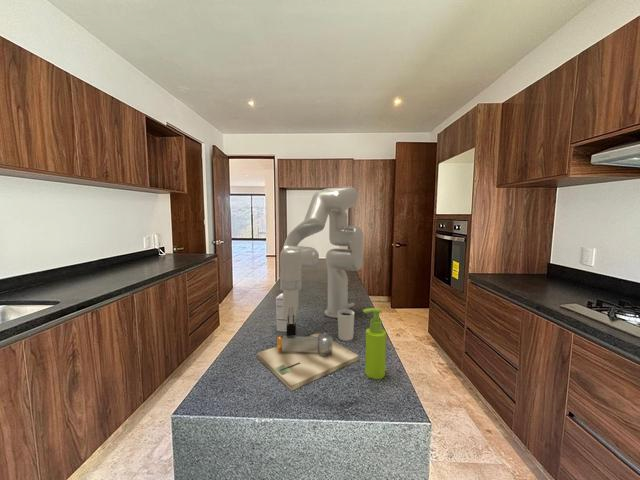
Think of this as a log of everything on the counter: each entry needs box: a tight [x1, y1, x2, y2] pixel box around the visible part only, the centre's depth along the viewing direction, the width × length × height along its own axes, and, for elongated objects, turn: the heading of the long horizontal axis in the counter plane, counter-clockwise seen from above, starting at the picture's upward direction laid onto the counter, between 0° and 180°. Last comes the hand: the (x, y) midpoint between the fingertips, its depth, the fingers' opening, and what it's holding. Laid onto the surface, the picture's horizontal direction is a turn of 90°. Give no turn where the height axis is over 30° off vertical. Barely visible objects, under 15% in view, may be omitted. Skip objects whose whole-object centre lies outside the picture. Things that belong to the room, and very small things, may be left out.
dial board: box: [256, 332, 360, 392], centre depth 90 cm, size 26×22×2 cm
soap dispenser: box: [362, 307, 387, 380], centre depth 81 cm, size 6×7×20 cm
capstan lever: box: [276, 332, 333, 356], centre depth 91 cm, size 18×8×5 cm, turn 87°
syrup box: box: [275, 293, 294, 333], centre depth 113 cm, size 6×6×14 cm
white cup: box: [337, 309, 355, 342], centre depth 106 cm, size 7×7×10 cm
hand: (291, 334), depth 97 cm, fingers closed
